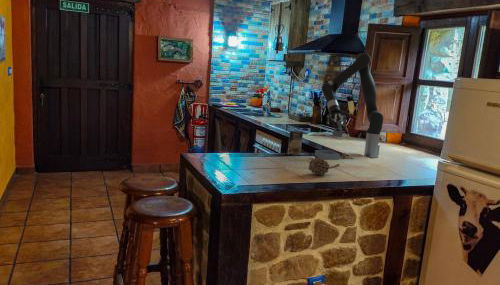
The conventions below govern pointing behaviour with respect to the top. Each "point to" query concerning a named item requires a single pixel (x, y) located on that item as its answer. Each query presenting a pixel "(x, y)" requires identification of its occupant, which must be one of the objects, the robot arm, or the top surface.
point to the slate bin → (327, 155)
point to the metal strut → (338, 129)
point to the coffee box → (295, 142)
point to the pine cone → (320, 166)
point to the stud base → (345, 156)
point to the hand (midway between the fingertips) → (340, 127)
